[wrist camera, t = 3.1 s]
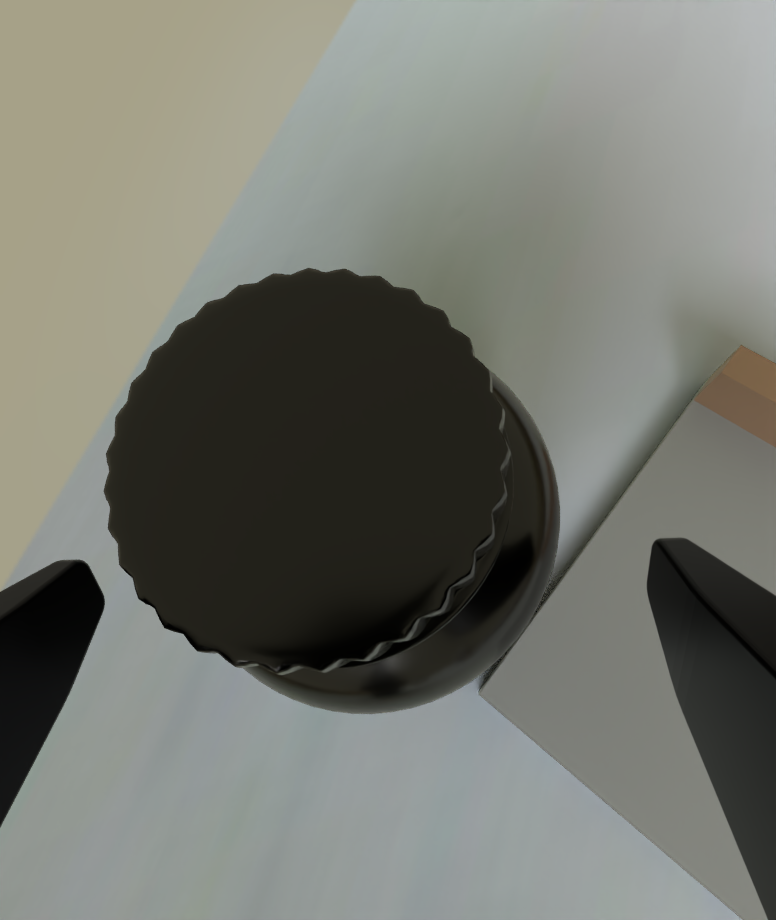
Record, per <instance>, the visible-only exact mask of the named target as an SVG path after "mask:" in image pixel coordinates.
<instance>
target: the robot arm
mask: <svg viewBox="0 0 776 920" xmlns="http://www.w3.org/2000/svg"><path fill="white" fill-rule="evenodd" d="M647 594H648V599H649V603H650V606H651V610H652V613H653V617H654V620H655V624H656V628H657V631H658V635H659V638H660V642H661V645H662V649H663V652H664V656H665V659H666V663H667V667H668V670H669V674H670V677H671V681H672V684H673V687H674V690H675V694H676V697H677V699H678V702H679V705H680V707H681V710H682V713H683V715H684V717H685V720H686V722H687V725H688V727H689V730H690V732H691V734H692V737H693V739H694V742H695V744H696V747H697V749H698V751H699V754H700V756H701V759H702V761H703V764H704V766H705V768H706V771H707V773H708V776H709V778H710V781H711V783H712V785H713V788H714V790H715V793H716V795H717V798H718V800H719V802H720V805H721V807H722V810H723V812H724V815H725V817H726V819H727V822H728V824H729V827H730V829H731V832H732V834H733V836H734V839H735V841H736V844H737V846H738V849H739V851H740V853H741V856H742V858H743V861H744V863H745V866H746V868H747V870H748V873H749V875H750V878H751V880H752V883H753V885H754V887H755V890H756V892H757V895H758V897H759V900H760V902H761V904H762V907H763V909H764V912H765V914H766V917H767V919H768V920H776V595H774V594H773V593H771V592H770V591H768V590H767V589H765V588H764V587H762V586H760V585H759V584H757V583H756V582H754V581H753V580H751V579H750V578H748V577H746V576H745V575H743V574H742V573H740V572H739V571H737V570H736V569H734V568H732V567H731V566H729V565H728V564H726V563H725V562H723V561H722V560H720V559H718V558H717V557H715V556H714V555H712V554H711V553H709V552H708V551H706V550H704V549H703V548H701V547H700V546H698V545H697V544H695V543H694V542H692V541H690V540H689V539H687V538H682V537H677V538H658V539H656V540H655V541H654V542H653V544H652V548H651V554H650V562H649V569H648V576H647ZM104 605H105V599H104V595H103V593H102V591H101V589H100V587H99V585H98V583H97V581H96V579H95V577H94V575H93V573H92V571H91V569H90V567H89V565H88V564H87V563H86V562H84V561H82V560H60V561H56V562H54V563H52V564H51V565H49V566H47V567H45V568H43V569H41V570H39V571H38V572H36V573H34V574H32V575H30V576H28V577H27V578H25V579H23V580H21V581H19V582H17V583H16V584H14V585H12V586H10V587H8V588H6V589H5V590H3V591H1V592H0V827H1V825H2V823H3V821H4V819H5V817H6V815H7V813H8V812H9V810H10V808H11V806H12V804H13V802H14V800H15V798H16V796H17V794H18V792H19V790H20V788H21V787H22V785H23V783H24V781H25V779H26V777H27V775H28V773H29V771H30V769H31V767H32V765H33V763H34V762H35V760H36V758H37V756H38V754H39V752H40V750H41V748H42V746H43V744H44V742H45V740H46V738H47V737H48V735H49V733H50V731H51V729H52V727H53V725H54V723H55V721H56V719H57V717H58V715H59V713H60V711H61V710H62V708H63V706H64V703H65V701H66V699H67V697H68V695H69V693H70V691H71V689H72V686H73V684H74V682H75V679H76V677H77V674H78V672H79V669H80V667H81V665H82V662H83V660H84V657H85V655H86V652H87V650H88V647H89V645H90V642H91V640H92V638H93V635H94V633H95V630H96V628H97V625H98V623H99V620H100V618H101V615H102V613H103V610H104Z"/></svg>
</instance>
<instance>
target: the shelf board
mask: <svg viewBox="0 0 776 920" xmlns="http://www.w3.org/2000/svg"><path fill="white" fill-rule="evenodd" d="M677 537H682V538H687V539H689V540H690V541H692V542H694V543H695V544H697V545H698V546H700V547H701V548H703V549H704V550H706V551H708V552H709V553H711V554H712V555H714V556H715V557H717V558H718V559H720V560H722V561H723V562H725V563H726V564H728V565H729V566H731V567H732V568H734V569H736V570H737V571H739V572H740V573H742V574H743V575H745V576H746V577H748V578H750V579H751V580H753V581H754V582H756V583H757V584H759V585H760V586H762V587H764V588H765V589H767V590H768V591H770V592H771V593H773V594H774V595H776V364H775V363H774V362H772V361H770V360H768V359H766V358H764V357H762V356H760V355H759V354H757V353H755V352H753V351H751V350H749V349H747V348H746V347H744V346H742V345H741V346H740V347H739V348H738V349H737V350H736V351H735V352H734V353H733V354H732V355H731V356H730V357H729V358H728V359H727V360H726V361H725V362H724V363H723V364H722V365H721V366H720V367H719V368H718V369H717V370H716V371H715V372H714V373H713V374H712V375H711V376H710V377H709V378H708V379H707V380H706V381H705V382H704V384H703V385H702V386H701V388H700V389H699V390H698V392H697V393H696V394H695V396H694V397H693V399H692V400H691V401H690V403H689V404H688V405H687V407H686V408H685V410H684V411H683V412H682V414H681V415H680V416H679V418H678V419H677V421H676V422H675V423H674V425H673V426H672V427H671V429H670V430H669V431H668V433H667V434H666V436H665V437H664V438H663V440H662V441H661V442H660V444H659V445H658V447H657V448H656V449H655V451H654V452H653V453H652V455H651V456H650V457H649V459H648V460H647V462H646V463H645V464H644V466H643V467H642V468H641V470H640V471H639V473H638V474H637V475H636V477H635V478H634V479H633V481H632V482H631V484H630V485H629V486H628V488H627V489H626V490H625V492H624V493H623V494H622V496H621V497H620V499H619V500H618V501H617V503H616V504H615V505H614V507H613V508H612V510H611V511H610V512H609V514H608V515H607V516H606V518H605V519H604V521H603V522H602V523H601V525H600V526H599V527H598V529H597V530H596V531H595V533H594V534H593V536H592V537H591V538H590V540H589V541H588V542H587V544H586V545H585V547H584V548H583V549H582V551H581V552H580V553H579V555H578V556H577V558H576V559H575V560H574V562H573V563H572V564H571V566H570V567H569V568H568V570H567V571H566V573H565V574H564V575H563V577H562V578H561V579H560V581H559V582H558V584H557V585H556V586H555V588H554V589H553V590H552V592H551V593H550V594H549V596H548V597H547V599H546V600H545V601H544V603H543V604H542V605H541V607H540V608H539V610H538V611H537V612H536V614H535V615H534V616H533V618H532V619H531V621H530V622H529V623H528V625H527V626H526V627H525V629H524V630H523V632H522V633H521V634H520V636H519V637H518V639H517V640H516V641H515V642H514V644H513V645H512V647H511V648H510V649H509V651H508V652H507V653H506V655H505V656H504V658H503V659H502V660H501V662H500V663H499V664H498V666H497V667H496V668H495V670H494V671H493V673H492V674H491V675H490V677H489V678H488V679H487V681H486V682H485V684H484V685H483V686H482V688H481V689H480V690H479V695H480V696H481V697H482V698H483V699H485V700H486V701H487V702H488V703H489V704H490V705H492V706H493V707H494V708H495V709H496V710H497V711H499V712H500V713H501V714H502V715H503V716H504V717H506V718H507V719H508V720H509V721H510V722H512V723H513V724H514V725H515V726H516V727H517V728H519V729H520V730H521V731H522V732H523V733H524V734H526V735H527V736H528V737H529V738H530V739H531V740H533V741H534V742H535V743H536V744H537V745H538V746H540V747H541V748H542V749H543V750H544V751H545V752H547V753H548V754H549V755H550V756H551V757H553V758H554V759H555V760H556V761H557V762H558V763H560V764H561V765H562V766H563V767H564V768H565V769H567V770H568V771H569V772H570V773H571V774H572V775H574V776H575V777H576V778H577V779H578V780H579V781H581V782H582V783H583V784H584V785H585V786H587V787H588V788H589V789H590V790H591V791H592V792H594V793H595V794H596V795H597V796H598V797H599V798H601V799H602V800H603V801H604V802H605V803H606V804H608V805H609V806H610V807H611V808H612V809H613V810H615V811H616V812H617V813H618V814H619V815H621V816H622V817H623V818H624V819H625V820H626V821H628V822H629V823H630V824H631V825H632V826H633V827H635V828H636V829H637V830H638V831H639V832H640V833H642V834H643V835H644V836H645V837H646V838H647V839H649V840H650V841H651V842H652V843H653V844H654V845H656V846H657V847H658V848H659V849H660V850H662V851H663V852H664V853H665V854H666V855H667V856H669V857H670V858H671V859H672V860H673V861H674V862H676V863H677V864H678V865H679V866H680V867H681V868H683V869H684V870H685V871H686V872H687V873H688V874H690V875H691V876H692V877H693V878H694V879H696V880H697V881H698V882H699V883H700V884H701V885H703V886H704V887H705V888H706V889H707V890H708V891H710V892H711V893H712V894H713V895H714V896H715V897H717V898H718V899H719V900H720V901H721V902H722V903H724V904H725V905H726V906H727V907H728V908H730V909H731V910H732V911H733V912H734V913H735V914H737V915H738V916H739V917H740V918H741V919H742V920H768V919H767V917H766V914H765V912H764V909H763V907H762V904H761V902H760V900H759V897H758V895H757V892H756V890H755V887H754V885H753V883H752V880H751V878H750V875H749V873H748V870H747V868H746V866H745V863H744V861H743V858H742V856H741V853H740V851H739V849H738V846H737V844H736V841H735V839H734V836H733V834H732V832H731V829H730V827H729V824H728V822H727V819H726V817H725V815H724V812H723V810H722V807H721V805H720V802H719V800H718V798H717V795H716V793H715V790H714V788H713V785H712V783H711V781H710V778H709V776H708V773H707V771H706V768H705V766H704V764H703V761H702V759H701V756H700V754H699V751H698V749H697V747H696V744H695V742H694V739H693V737H692V734H691V732H690V730H689V727H688V725H687V722H686V720H685V717H684V715H683V713H682V710H681V707H680V705H679V702H678V699H677V697H676V694H675V690H674V687H673V684H672V681H671V677H670V674H669V670H668V667H667V663H666V659H665V656H664V652H663V649H662V645H661V642H660V638H659V635H658V631H657V628H656V624H655V620H654V617H653V613H652V610H651V606H650V603H649V599H648V594H647V576H648V569H649V562H650V554H651V548H652V544H653V542H654V541H655V540H656V539H658V538H677Z"/></svg>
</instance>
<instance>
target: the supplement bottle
mask: <svg viewBox="0 0 776 920" xmlns="http://www.w3.org/2000/svg"><path fill="white" fill-rule="evenodd" d="M106 457H107V463H108V466H109V474H108V477H107V480H106V484H105V488H104V494H105V497H106V500H107V501H108V503H109V506H110V514H109V522H108V530H109V531H110V533H111V535H112V537H113V538H114V539H115V540H116V541H117V543H118V556H119V565H120V566H121V567H122V568H123V569H124V571H125V572H126V573H128V574H129V575H130V576H131V577H132V578H133V581H134V585H135V590H136V593H137V596H138V599H140V600H141V601H143V602H144V603H145V604H148V605H150V606H152V607H153V608H155V610H156V612H157V615H158V617H159V619H160V621H161V623H162V625H163V626H164V628H166V629H168V630H171V631H174V632H178V633H182V634H184V636H185V637H186V638H187V640H188V641H189V642H190V644H191V645H192V646H193V647H194V648H195V649H196V650H197V651H198V652H204V653H219V654H220V655H221V656H222V657H223V658H224V659H225V660H227V661H228V662H229V663H231V664H232V665H233V666H235V667H238V668H243V669H245V670H246V671H247V672H248V673H250V674H251V675H252V676H253V677H255V678H256V679H257V680H259V681H260V682H262V683H263V684H265V685H266V686H268V687H270V688H271V689H273V690H274V691H276V692H278V693H280V694H282V695H285V696H287V697H289V698H291V699H293V700H296V701H298V702H301V703H304V704H307V705H310V706H313V707H317V708H321V709H325V710H329V711H334V712H343V713H351V714H377V713H388V712H395V711H400V710H405V709H410V708H414V707H417V706H420V705H423V704H427V703H430V702H433V701H435V700H437V699H439V698H442V697H444V696H446V695H448V694H451V693H453V692H454V691H456V690H458V689H460V688H461V687H463V686H465V685H466V684H468V683H470V682H471V681H473V680H474V679H475V678H477V677H478V676H479V675H481V674H482V673H484V672H485V671H486V670H487V669H489V668H490V667H491V666H492V665H493V664H494V663H495V662H496V661H497V660H498V659H500V658H501V657H502V656H503V655H504V653H505V652H506V651H507V650H508V649H509V648H510V647H511V646H512V645H513V643H514V642H515V641H516V640H517V639H518V637H519V636H520V634H521V633H522V632H523V630H524V629H525V627H526V626H527V625H528V623H529V621H530V620H531V618H532V616H533V615H534V613H535V611H536V609H537V608H538V606H539V604H540V601H541V599H542V597H543V595H544V592H545V590H546V588H547V585H548V582H549V579H550V576H551V573H552V570H553V566H554V562H555V557H556V552H557V548H558V538H559V529H560V505H559V495H558V487H557V482H556V477H555V472H554V468H553V465H552V461H551V458H550V455H549V452H548V449H547V447H546V445H545V442H544V440H543V438H542V435H541V433H540V431H539V430H538V428H537V426H536V424H535V422H534V421H533V419H532V417H531V416H530V414H529V413H528V411H527V410H526V408H525V407H524V405H523V404H522V403H521V401H520V400H519V399H518V398H517V397H516V395H515V394H514V393H513V392H512V391H511V390H510V388H509V387H508V386H507V385H506V384H505V383H504V382H502V381H501V380H500V379H499V378H498V377H497V376H496V375H495V374H494V373H492V372H491V371H490V370H489V369H487V368H486V367H485V366H484V365H483V364H482V363H481V362H480V361H479V360H478V359H476V358H475V353H474V349H473V345H472V342H471V340H470V338H469V337H467V336H466V335H464V334H463V333H461V332H460V331H458V330H456V329H454V328H452V327H451V324H450V322H449V319H448V318H447V316H446V314H445V312H444V311H443V310H440V309H438V308H436V307H433V306H430V305H427V304H424V303H423V302H422V301H421V299H420V297H419V296H418V295H417V293H416V292H415V291H414V290H411V289H406V288H399V287H393V286H392V285H391V284H390V283H389V282H388V281H386V280H385V279H384V278H382V277H381V276H358V275H356V274H354V273H353V272H351V271H349V270H347V269H340V270H334V271H330V272H321V271H319V270H316V269H311V268H307V269H304V270H302V271H299V272H296V273H294V274H292V275H284V274H272V275H270V276H268V277H266V278H264V279H263V280H261V281H259V282H258V283H254V284H244V285H239V286H237V287H236V288H235V289H233V290H232V291H231V292H230V293H229V294H228V295H226V296H225V297H224V298H221V299H218V300H213V301H210V302H207V303H206V304H205V305H204V306H203V307H202V308H201V309H200V311H199V312H198V313H197V314H196V316H195V317H193V318H191V319H189V320H187V321H185V322H183V323H181V324H179V325H177V327H176V328H175V330H174V331H173V333H172V335H171V337H170V338H169V340H168V341H167V342H166V343H165V344H163V345H162V346H160V347H159V348H157V349H156V350H155V351H153V352H152V354H151V356H150V359H149V361H148V364H147V366H146V369H145V370H144V371H143V372H142V373H141V375H139V376H138V377H137V378H136V379H135V380H134V381H133V382H132V383H131V387H130V390H129V395H128V401H127V402H126V404H125V405H124V407H123V408H122V409H121V410H120V411H119V413H118V414H117V416H116V418H115V436H114V438H113V440H112V442H111V444H110V446H109V448H108V450H107V453H106Z"/></svg>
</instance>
